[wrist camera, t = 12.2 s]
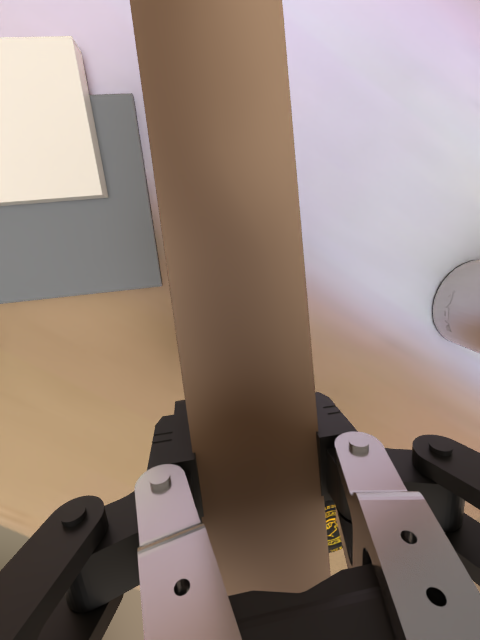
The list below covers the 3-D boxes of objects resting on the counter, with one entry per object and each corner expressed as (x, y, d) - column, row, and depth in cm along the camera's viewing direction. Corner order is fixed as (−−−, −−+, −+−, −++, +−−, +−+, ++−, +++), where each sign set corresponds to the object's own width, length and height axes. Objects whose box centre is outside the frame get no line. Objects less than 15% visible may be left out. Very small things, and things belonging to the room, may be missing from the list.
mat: (133, 96, 25) (132, 93, 25) (162, 285, 29) (161, 286, 29) (-63, 103, 24) (-69, 100, 23) (-4, 303, 28) (-8, 304, 27)
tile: (109, 197, 26) (81, 53, 24) (102, 194, 24) (71, 36, 22) (-24, 208, 25) (-69, 57, 22) (-43, 205, 23) (-94, 39, 20)
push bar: (235, -31, 12) (261, -244, 7) (292, 542, 15) (338, 667, 10) (137, -31, 12) (94, -257, 7) (216, 558, 15) (226, 696, 10)
